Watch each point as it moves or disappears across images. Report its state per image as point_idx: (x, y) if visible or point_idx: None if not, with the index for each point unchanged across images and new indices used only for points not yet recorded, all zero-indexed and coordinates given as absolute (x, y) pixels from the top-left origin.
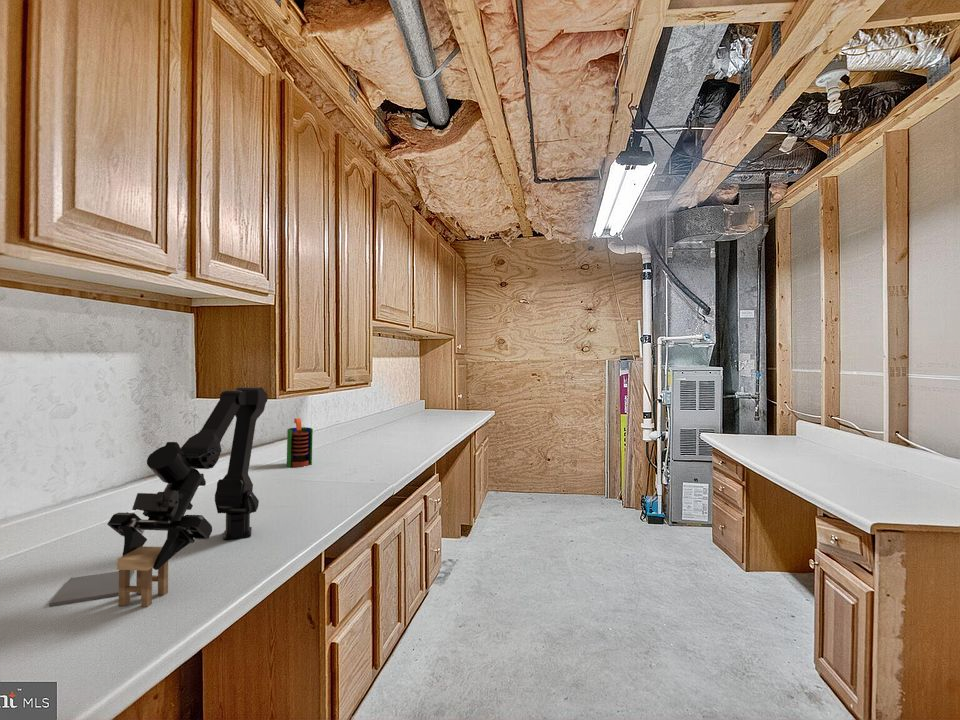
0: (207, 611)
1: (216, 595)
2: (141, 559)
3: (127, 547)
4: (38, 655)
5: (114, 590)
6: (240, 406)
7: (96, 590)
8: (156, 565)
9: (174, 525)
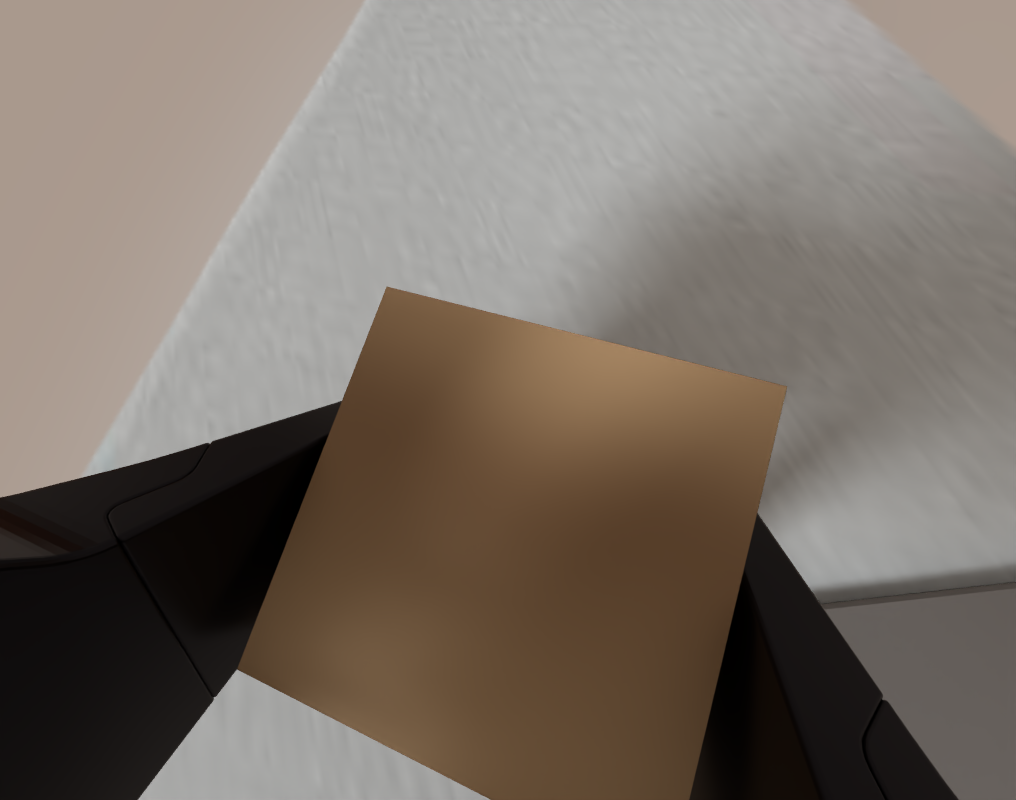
0: (232, 315)
1: None
2: (462, 317)
3: (817, 688)
4: (790, 73)
5: None
6: None
7: (941, 704)
8: None
9: None
